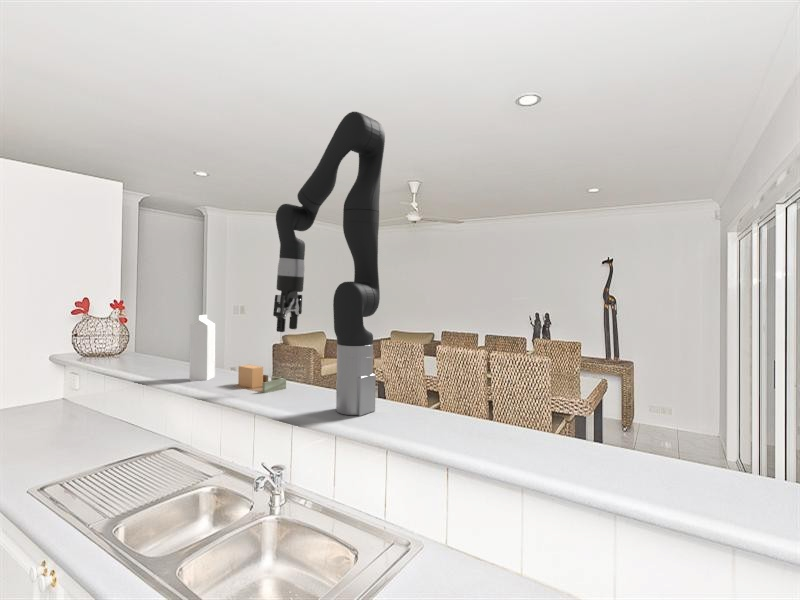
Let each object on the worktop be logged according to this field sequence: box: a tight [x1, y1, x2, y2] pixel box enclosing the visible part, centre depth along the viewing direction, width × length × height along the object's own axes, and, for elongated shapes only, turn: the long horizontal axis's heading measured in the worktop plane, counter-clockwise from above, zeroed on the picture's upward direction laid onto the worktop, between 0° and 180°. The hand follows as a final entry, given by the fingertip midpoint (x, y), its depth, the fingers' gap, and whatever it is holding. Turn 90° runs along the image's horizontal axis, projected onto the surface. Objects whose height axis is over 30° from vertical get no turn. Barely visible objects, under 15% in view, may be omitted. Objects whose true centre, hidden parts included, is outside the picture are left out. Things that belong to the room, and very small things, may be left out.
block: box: [237, 364, 264, 388], centre depth 141 cm, size 7×4×6 cm, turn 55°
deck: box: [233, 374, 287, 394], centre depth 139 cm, size 16×8×4 cm, turn 55°
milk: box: [189, 314, 216, 382], centre depth 151 cm, size 6×6×22 cm
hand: (287, 330), depth 130 cm, fingers open, 8 cm apart
